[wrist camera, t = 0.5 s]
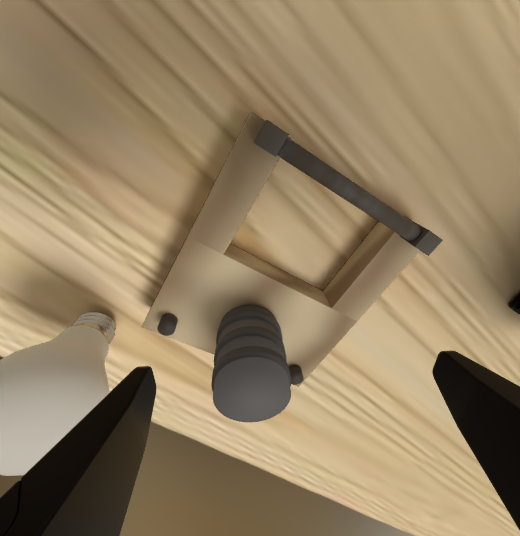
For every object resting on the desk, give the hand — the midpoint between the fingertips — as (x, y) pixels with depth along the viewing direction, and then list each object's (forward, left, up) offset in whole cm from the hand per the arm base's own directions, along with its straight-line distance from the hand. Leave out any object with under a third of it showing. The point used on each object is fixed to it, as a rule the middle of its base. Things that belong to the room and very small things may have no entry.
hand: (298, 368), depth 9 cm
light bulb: (+8, +13, -13) cm, 20 cm away
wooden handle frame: (-2, +2, -13) cm, 13 cm away
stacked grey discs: (-2, +7, -11) cm, 13 cm away
